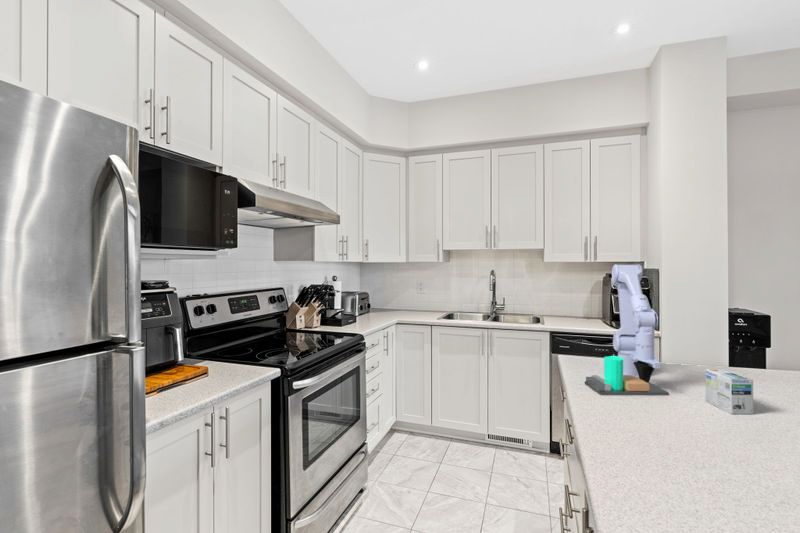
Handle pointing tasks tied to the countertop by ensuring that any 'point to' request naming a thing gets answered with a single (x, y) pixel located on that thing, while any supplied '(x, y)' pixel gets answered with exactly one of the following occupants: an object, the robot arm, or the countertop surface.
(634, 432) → the countertop surface
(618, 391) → the dark grey flat block
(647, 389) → the tan flat block
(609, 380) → the candle
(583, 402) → the countertop surface
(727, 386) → the light bulb box
